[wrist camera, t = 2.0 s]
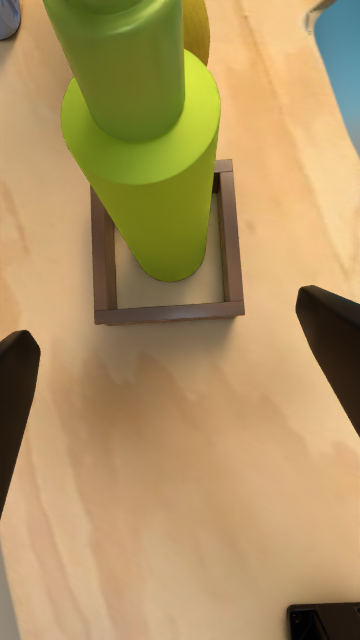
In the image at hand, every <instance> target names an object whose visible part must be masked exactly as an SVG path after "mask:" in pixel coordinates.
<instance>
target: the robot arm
mask: <svg viewBox="0 0 360 640" xmlns="http://www.w3.org/2000/svg"><path fill="white" fill-rule="evenodd" d="M296 314H297V317H298V319H299V322H300V324H301V327H302V329H303V332H304V334H305V337H306V339H307V341H308V344H309V346H310V349H311V351H312V353H313V355H314V357H315V359H316V360H317V362H318V364H319V366H320V367H321V369H322V371H323V373H324V375H325V376H326V378H327V380H328V382H329V384H330V385H331V387H332V389H333V391H334V393H335V394H336V396H337V398H338V400H339V401H340V403H341V405H342V407H343V409H344V410H345V412H346V414H347V416H348V418H349V419H350V421H351V423H352V425H353V427H354V428H355V430H356V432H357V434H358V435H359V437H360V304H358V303H356V302H353V301H351V300H348V299H346V298H344V297H341V296H339V295H336V294H334V293H332V292H329V291H327V290H324V289H322V288H319V287H317V286H315V285H310V286H303V287H301V288H300V289H299V291H298V296H297V302H296ZM40 355H41V351H40V347H39V345H38V344H37V342H36V341H35V339H34V338H33V336H32V335H31V333H30V332H29V331H27V330H21V331H15V332H13V333H11V334H10V335H8V336H7V337H6V338H4V339H3V340H2V341H0V519H1V515H2V512H3V508H4V504H5V501H6V497H7V493H8V490H9V486H10V482H11V479H12V475H13V471H14V468H15V464H16V460H17V457H18V453H19V449H20V446H21V442H22V438H23V435H24V431H25V427H26V424H27V420H28V416H29V413H30V409H31V405H32V402H33V398H34V393H35V388H36V382H37V375H38V368H39V362H40ZM294 614H297V615H296V616H293V615H294ZM287 617H288V629H289V640H360V602H354V603H326V604H297V605H290V606H289V607H288V609H287Z"/></svg>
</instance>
